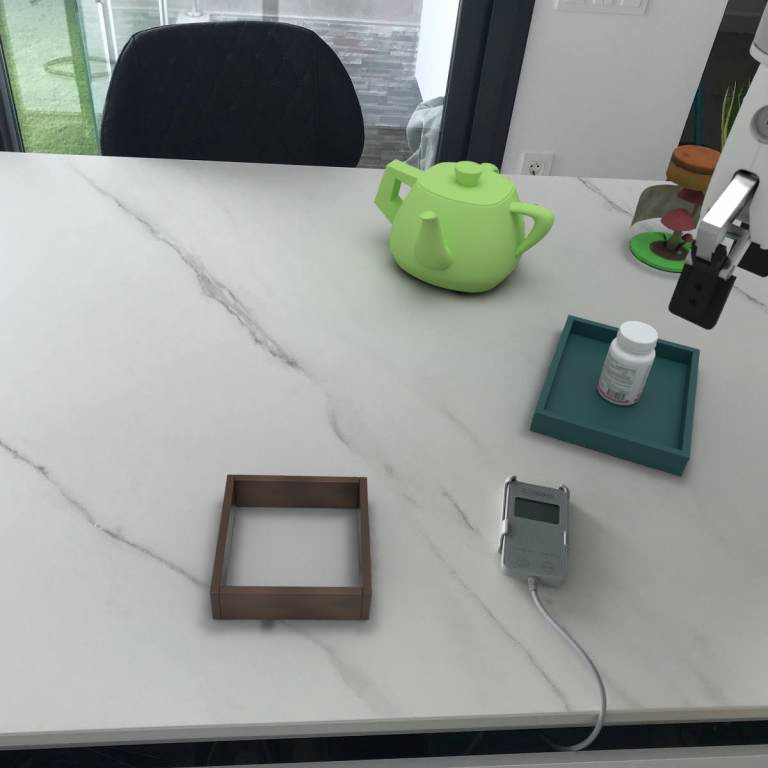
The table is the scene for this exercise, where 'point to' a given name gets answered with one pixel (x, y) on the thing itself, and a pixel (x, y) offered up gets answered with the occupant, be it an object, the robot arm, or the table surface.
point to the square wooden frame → (292, 598)
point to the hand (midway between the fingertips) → (720, 292)
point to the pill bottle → (628, 363)
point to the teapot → (458, 223)
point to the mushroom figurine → (674, 207)
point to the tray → (619, 422)
